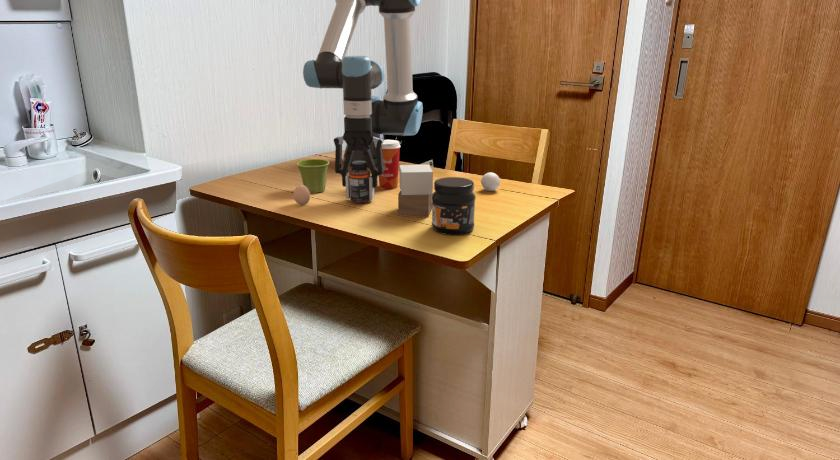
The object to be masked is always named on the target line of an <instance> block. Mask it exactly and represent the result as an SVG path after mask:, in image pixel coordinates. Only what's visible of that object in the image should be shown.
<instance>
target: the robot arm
mask: <svg viewBox="0 0 840 460" xmlns="http://www.w3.org/2000/svg"><path fill="white" fill-rule="evenodd" d="M420 2H421V0H335V4H336V5H335V7H334V10H333V13H332V15H331V19H330V20H329V23H328V26H327V29H326V31H325V32H326V33H325V34H324V38H323V40H322V44H321V46H320V49H319V52H318V54H317V56H316V59H315V60H314V59H312V60H307V61H305V62H304V65H303V70H302V75H303V80H304V82H305V85H306V86H307V87H310V88H314V89H315V88H316V89H342V92H343V93H342V96H343V97H342V99H343V100H342V101H343V114H344V115H345V116H344V118H343V128H344V131H343V135H341V136H336V137H335V138H333V143H334V147H335V150H334V151H335V157H334V158H335V160H334V161H335V163H334V164H335V165H334V173H336V174H339V175H340V176H341V181H342V182H341V183H342V187H345V199H346V200H350V187H349V171H350V167H352V162H354V161H365V162H366V167H367V168H368V169H369V171H370V177H369V195H370V201H373V200H374V199H375V189H376V188H377V187H378V185H379V179H378V177H379V175H382V174H383V172H384V165H383V153H382V145H383V141H384V140H385V139H384V138H382V137H381V135H389V136H390V135H392V136H403V137H405V136H415V135H416V134H418V132H419V130H420V127H421V125H422V124H421V123H422V120H423V113H424V112H423V109H424V107H423V102H422V101H419V100H418V95H417V93H415V92H414V90H413V87H414V86H413V85H414V84H413V58H412V57H413V55H412V53H413V52H412V51H413V50H412V23H411V22H412V21H411V20H412V19H411V18H412V16H413V15H414V13H415V12H416V7H417V6H419V5H420V4H421V3H420ZM369 6H371V7H373V6H375V7H376V6H377V7H378V14H380V15H381V17H383V23H384V28H383V29H384V46H385V65H386V67H385V68H386V83H387V84H386V85H387V92H386V93H385V94H384V96H383V100H381V97H380V95H372V90H375V89H376V88H378V87H379V86H380V85H382V83H383V81H384V79H385V70H384V68H383V66H382V65H381V64H380V63H379V62H377V61H374V60H371V58H370V57H369V56H366V55H347V53H348V49H349V46H350V43H351V40H352V37H353V34H354V32H355V29H356V25H357V23H358V20H359V16H360V15H361V14H363V13H364V11H365V9H366V7H369ZM344 143H345V144H346V145H345V149H344V152H343V144H344ZM375 146H376V147H375ZM342 162H343V163H342Z"/></svg>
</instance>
